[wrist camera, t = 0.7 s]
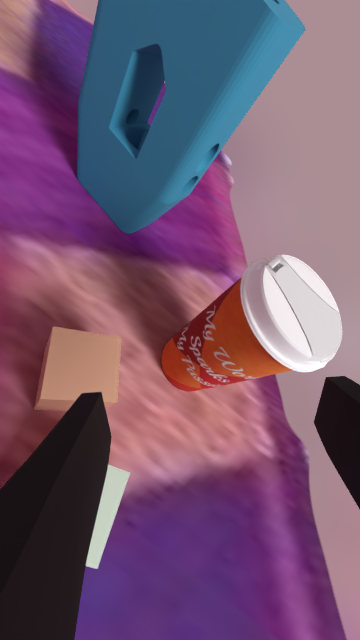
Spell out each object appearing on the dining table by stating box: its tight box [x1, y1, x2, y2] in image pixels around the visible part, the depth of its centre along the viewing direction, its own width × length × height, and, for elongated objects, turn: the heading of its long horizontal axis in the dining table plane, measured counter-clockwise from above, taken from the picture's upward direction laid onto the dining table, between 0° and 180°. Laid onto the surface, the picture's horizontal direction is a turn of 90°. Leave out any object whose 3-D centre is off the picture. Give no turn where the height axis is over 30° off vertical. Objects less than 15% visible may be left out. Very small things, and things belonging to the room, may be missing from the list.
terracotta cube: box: [34, 326, 122, 411], centre depth 20 cm, size 4×4×5 cm
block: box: [77, 0, 305, 234], centre depth 23 cm, size 12×5×20 cm, turn 48°
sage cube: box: [86, 465, 130, 569], centre depth 17 cm, size 4×4×5 cm
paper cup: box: [161, 255, 342, 391], centre depth 22 cm, size 8×8×14 cm
